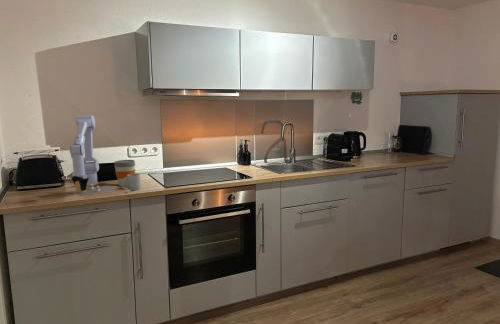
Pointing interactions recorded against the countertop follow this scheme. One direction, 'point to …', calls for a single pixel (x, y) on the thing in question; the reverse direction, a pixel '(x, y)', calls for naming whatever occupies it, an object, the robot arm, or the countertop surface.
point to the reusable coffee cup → (124, 170)
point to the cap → (78, 187)
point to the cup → (132, 182)
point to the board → (95, 189)
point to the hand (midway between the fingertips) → (80, 189)
